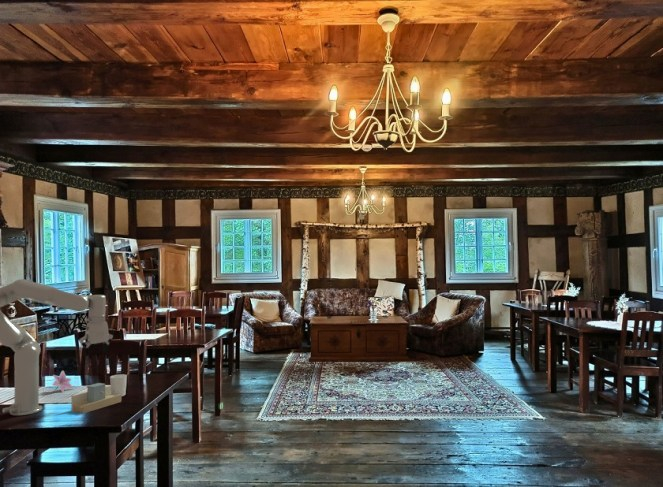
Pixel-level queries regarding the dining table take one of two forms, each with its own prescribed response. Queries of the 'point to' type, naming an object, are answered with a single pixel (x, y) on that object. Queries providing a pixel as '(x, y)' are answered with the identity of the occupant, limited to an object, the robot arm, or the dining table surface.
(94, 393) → the cabinet
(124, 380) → the white cup
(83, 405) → the cleat board
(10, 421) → the dining table surface
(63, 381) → the lily
